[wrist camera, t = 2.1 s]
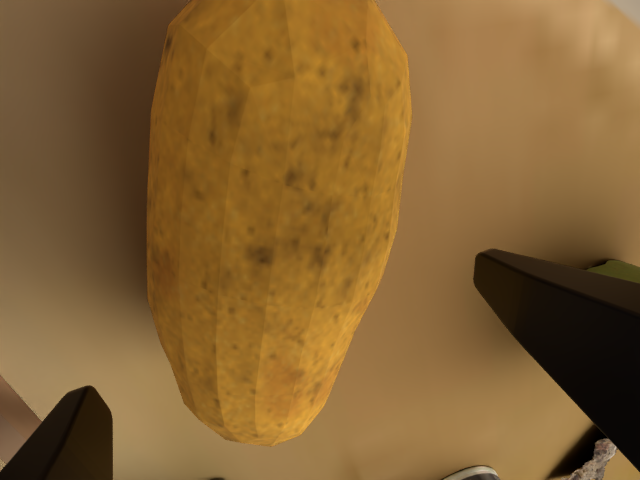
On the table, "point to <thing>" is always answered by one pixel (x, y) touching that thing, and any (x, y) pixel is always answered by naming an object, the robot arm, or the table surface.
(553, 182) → the table surface
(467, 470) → the coffee can
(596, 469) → the crumpled grey wrapper
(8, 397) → the trapdoor frame
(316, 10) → the potato
